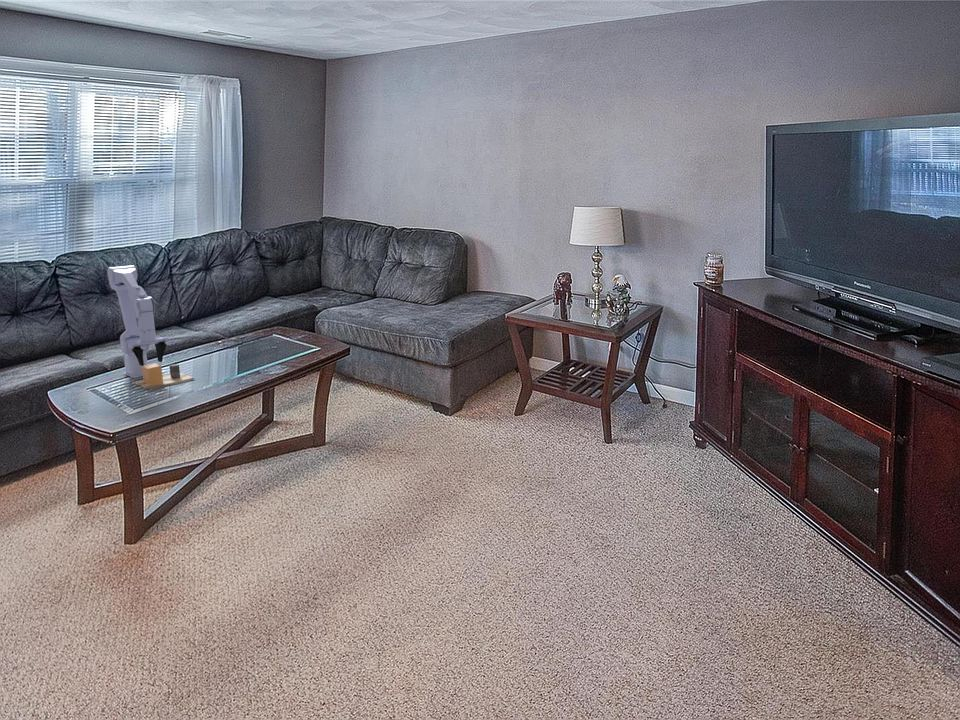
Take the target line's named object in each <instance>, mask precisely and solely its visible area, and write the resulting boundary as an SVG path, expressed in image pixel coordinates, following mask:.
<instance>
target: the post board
mask: <svg viewBox="0 0 960 720" xmlns="http://www.w3.org/2000/svg"><path fill="white" fill-rule="evenodd" d="M169 372H170V373H169V374H165V375H162V377H163V382H162V383H157V384H153V385H149V384H146V383H144V381H143V380H142V379H141V380H137V381H135V382H134V384H135V385H137V386H140V387H142V388H144V389H146V390H147V391H151V390H156V389H159V388H164V387H169V386H173V385H177V384H181V383H186V382H190V381H194V380H195V377H193V376H191V375H188V374H185V373H183V372H180V364H176V363H174V364H170V365H169Z"/></svg>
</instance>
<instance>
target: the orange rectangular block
mask: <svg viewBox="0 0 960 720" xmlns="http://www.w3.org/2000/svg"><path fill="white" fill-rule="evenodd" d="M142 373H143V376H142V379H143V381H144V383H146V384H149V385H153V384H157V383H162V382H163V377H162V376H163V369H162V365H160V364H158V363H150V364H148V365H145V366H142Z"/></svg>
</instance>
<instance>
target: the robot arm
mask: <svg viewBox="0 0 960 720" xmlns="http://www.w3.org/2000/svg"><path fill="white" fill-rule="evenodd" d="M107 279H108V283H109V286H110V289H111V290H113V291H115V292H116V295H117V299H118V303H119V307H120V311H121V315H122V316H121V317H122V320H123V326H124V328H125V331H124V332H123V333H122V334H120V337H119V341H120V343H119V344H120V349H121V352H122V353H123V354H124V357H123V361H124V369H125V372H123V375H125V376H127V377H130V378H132V379H135V378H140V377H143V373H142V366H145V365H149V363H148V358H147V357H148V355H147V353H148V352H149V351H150V349H151V346H153V345H154V347H155V349H156V356H157V357H156V358H157V361H158V362H159V363H162V362H163V359H164V353H165V351H166V348H167V343H169V337H167V336H161V337H157V335H156V334H157V333H156V326H155V317H154V312H156V311H155V309H156V305H155V301H154V299H153V297H152V296H150V295H147V293H146V291H145V289H144V288H143V286H140V285H138V282H137V280H138V270H137V267H136V266H135V265H133V264H132V265H124V266H123V265H122V266H108V269H107Z"/></svg>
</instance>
